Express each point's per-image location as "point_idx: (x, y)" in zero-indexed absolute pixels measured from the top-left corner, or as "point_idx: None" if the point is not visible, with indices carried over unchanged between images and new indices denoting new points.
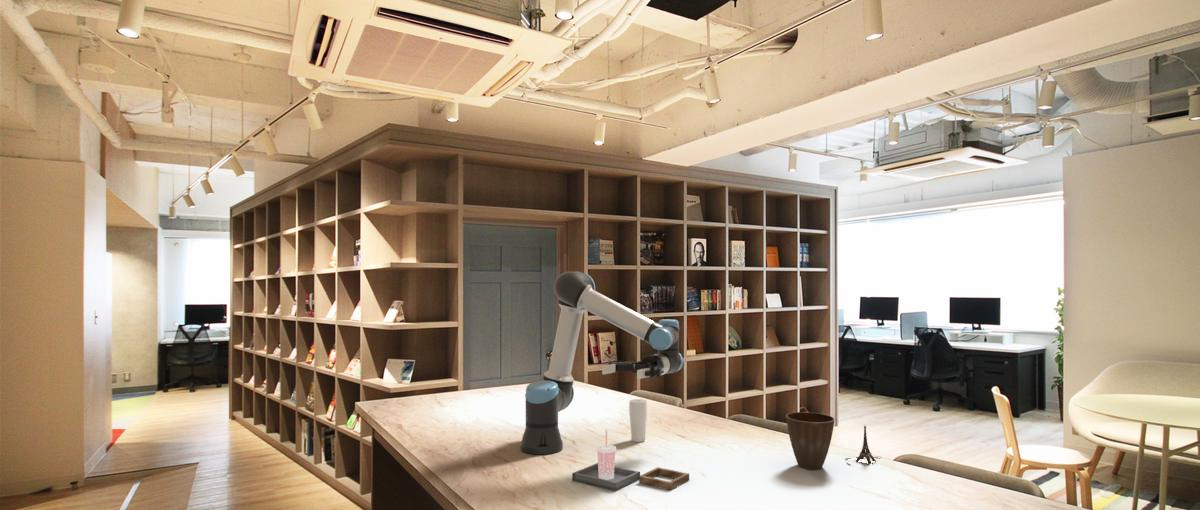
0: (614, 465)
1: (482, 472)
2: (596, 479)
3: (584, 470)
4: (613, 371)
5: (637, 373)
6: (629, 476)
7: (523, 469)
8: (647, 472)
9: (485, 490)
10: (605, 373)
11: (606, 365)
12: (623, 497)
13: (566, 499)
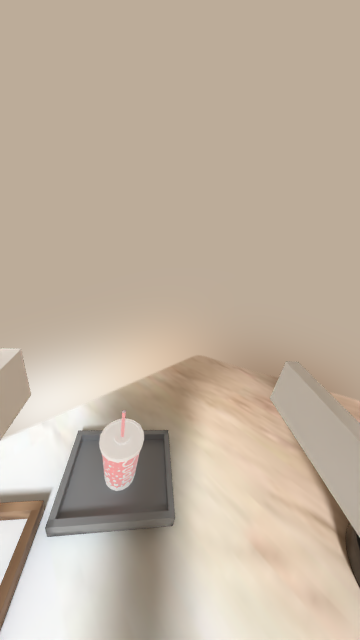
0: (105, 471)
1: (270, 401)
2: None
3: (165, 458)
4: (347, 506)
5: (22, 367)
6: (63, 476)
7: (258, 436)
8: (23, 548)
9: (211, 370)
10: (278, 405)
11: (318, 387)
12: (58, 425)
13: (128, 387)
